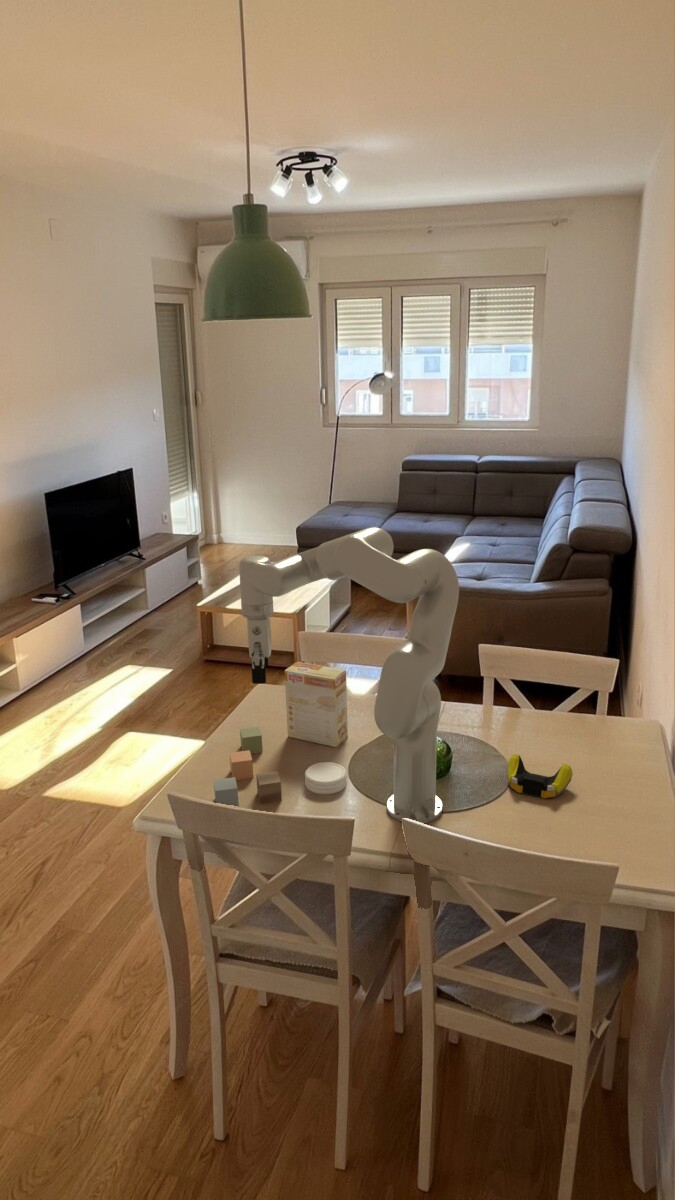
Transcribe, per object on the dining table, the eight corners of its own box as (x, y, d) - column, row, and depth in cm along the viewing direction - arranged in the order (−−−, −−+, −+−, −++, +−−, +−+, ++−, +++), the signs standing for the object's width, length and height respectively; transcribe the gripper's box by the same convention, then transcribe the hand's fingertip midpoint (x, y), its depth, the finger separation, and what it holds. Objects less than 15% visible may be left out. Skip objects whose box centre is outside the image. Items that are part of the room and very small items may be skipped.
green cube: (262, 752, 214) (261, 735, 213) (243, 755, 213) (242, 737, 211) (259, 743, 219) (258, 726, 217) (241, 746, 218) (239, 729, 216)
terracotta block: (253, 778, 202) (252, 759, 201) (233, 780, 201) (231, 762, 200) (250, 768, 207) (249, 750, 205) (230, 770, 206) (229, 752, 204)
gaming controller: (510, 770, 203) (499, 790, 194) (511, 750, 201) (500, 769, 192) (572, 783, 196) (564, 804, 188) (574, 763, 194) (565, 783, 186)
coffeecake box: (348, 736, 221) (347, 669, 215) (336, 748, 215) (334, 679, 209) (300, 726, 228) (297, 660, 222) (286, 737, 222) (283, 670, 216)
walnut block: (281, 800, 192) (280, 781, 190) (260, 803, 191) (259, 784, 189) (278, 789, 197) (277, 771, 195) (257, 792, 196) (256, 774, 194)
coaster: (354, 780, 200) (354, 768, 199) (331, 800, 192) (331, 786, 191) (320, 770, 205) (320, 757, 204) (296, 788, 197) (296, 775, 196)
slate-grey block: (238, 807, 190) (237, 788, 188) (216, 810, 189) (215, 791, 187) (236, 795, 195) (235, 777, 193) (215, 798, 194) (213, 780, 192)
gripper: (271, 620, 188) (274, 689, 193) (275, 596, 204) (277, 660, 209) (238, 621, 187) (242, 690, 193) (244, 597, 204) (247, 661, 209)
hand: (260, 674), depth 201 cm, fingers open, 9 cm apart
